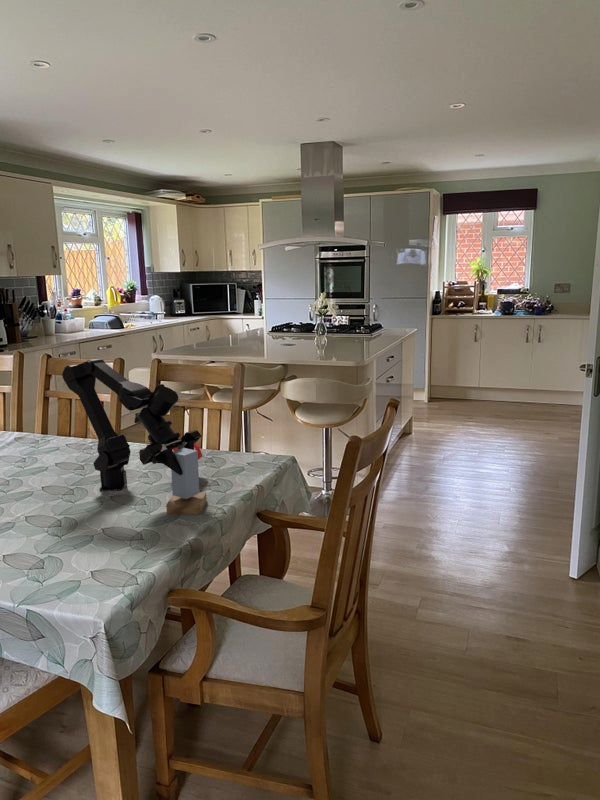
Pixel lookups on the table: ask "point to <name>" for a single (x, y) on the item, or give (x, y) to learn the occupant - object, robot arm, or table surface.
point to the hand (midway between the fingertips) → (188, 471)
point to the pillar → (186, 474)
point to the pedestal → (186, 504)
